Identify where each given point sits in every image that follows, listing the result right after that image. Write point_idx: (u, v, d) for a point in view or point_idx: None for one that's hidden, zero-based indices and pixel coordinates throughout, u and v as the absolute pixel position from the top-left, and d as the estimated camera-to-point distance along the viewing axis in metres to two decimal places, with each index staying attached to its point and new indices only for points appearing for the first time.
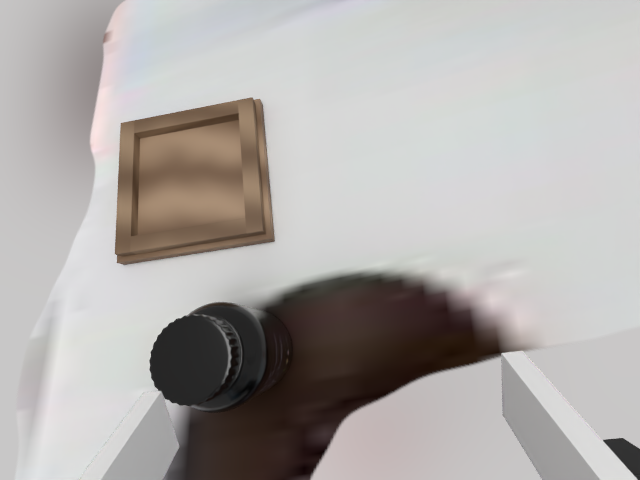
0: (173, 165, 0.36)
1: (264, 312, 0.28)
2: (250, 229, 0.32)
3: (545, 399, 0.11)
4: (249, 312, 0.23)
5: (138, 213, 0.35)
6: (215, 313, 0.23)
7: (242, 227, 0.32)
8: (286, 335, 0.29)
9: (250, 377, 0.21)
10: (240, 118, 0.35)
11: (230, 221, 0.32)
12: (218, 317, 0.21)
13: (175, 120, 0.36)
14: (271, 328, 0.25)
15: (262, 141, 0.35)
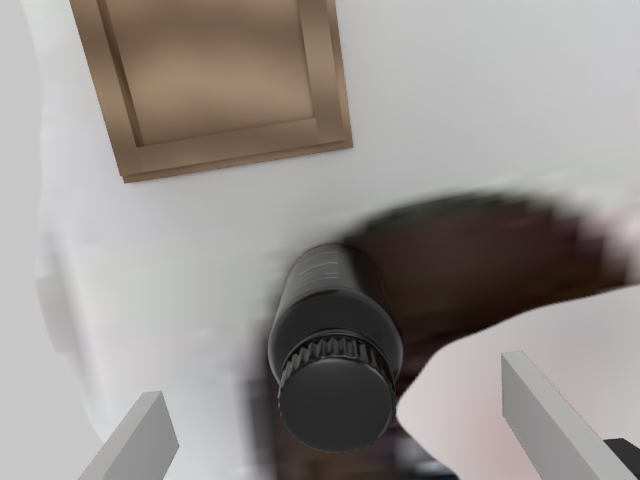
0: (170, 11, 0.21)
1: (360, 261, 0.22)
2: (325, 137, 0.21)
3: (545, 399, 0.11)
4: (376, 303, 0.17)
5: (134, 103, 0.22)
6: (337, 316, 0.16)
7: (312, 134, 0.21)
8: (382, 280, 0.23)
9: None
10: None
11: (292, 124, 0.21)
12: (356, 337, 0.15)
13: None
14: (389, 301, 0.19)
15: None
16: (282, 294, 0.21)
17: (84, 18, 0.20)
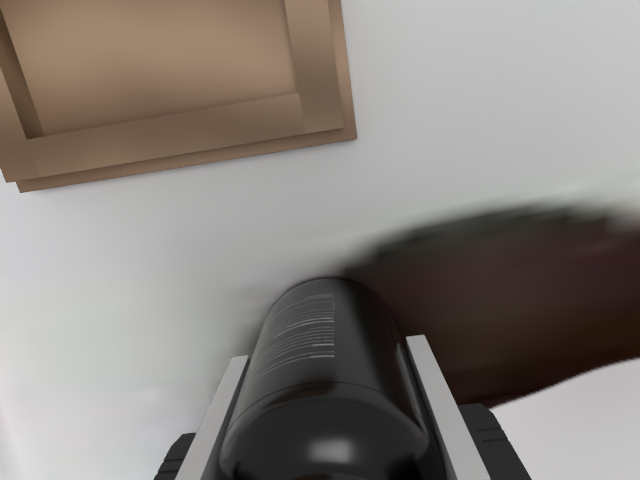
0: None
1: (367, 312, 0.14)
2: (314, 124, 0.14)
3: (425, 372, 0.13)
4: (402, 412, 0.10)
5: (24, 71, 0.14)
6: (332, 448, 0.09)
7: (294, 118, 0.14)
8: (399, 334, 0.16)
9: None
10: None
11: (263, 102, 0.13)
12: None
13: None
14: (416, 386, 0.12)
15: None
16: (249, 364, 0.14)
17: None
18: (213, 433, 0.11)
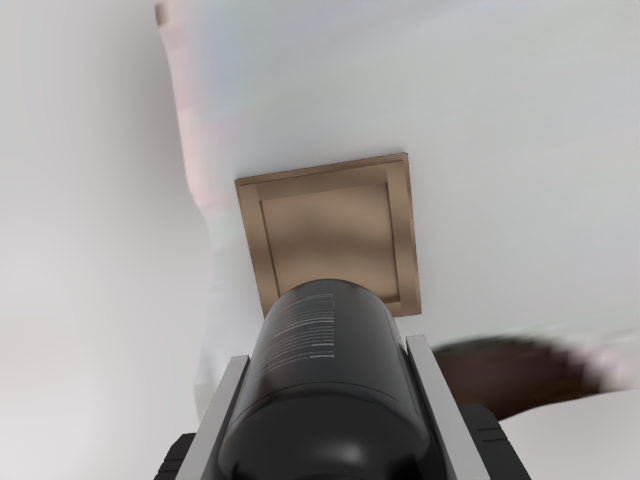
0: (308, 235, 0.32)
1: (367, 312, 0.14)
2: (405, 313, 0.33)
3: (425, 372, 0.13)
4: (402, 412, 0.10)
5: (279, 286, 0.34)
6: (332, 449, 0.09)
7: (397, 311, 0.33)
8: (399, 334, 0.16)
9: None
10: (390, 189, 0.30)
11: None
12: None
13: (309, 187, 0.30)
14: (416, 386, 0.12)
15: (411, 211, 0.31)
16: (249, 364, 0.14)
17: (257, 244, 0.32)
18: (213, 433, 0.11)
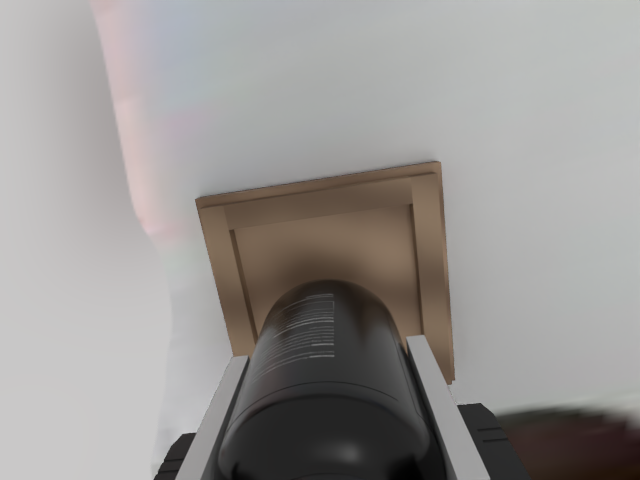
0: (300, 275, 0.23)
1: (367, 312, 0.14)
2: None
3: (425, 372, 0.13)
4: (402, 412, 0.10)
5: None
6: (332, 449, 0.09)
7: None
8: (399, 334, 0.16)
9: None
10: (416, 214, 0.21)
11: None
12: None
13: (299, 210, 0.21)
14: (416, 386, 0.12)
15: (444, 243, 0.22)
16: (249, 364, 0.14)
17: (227, 289, 0.23)
18: (213, 433, 0.11)
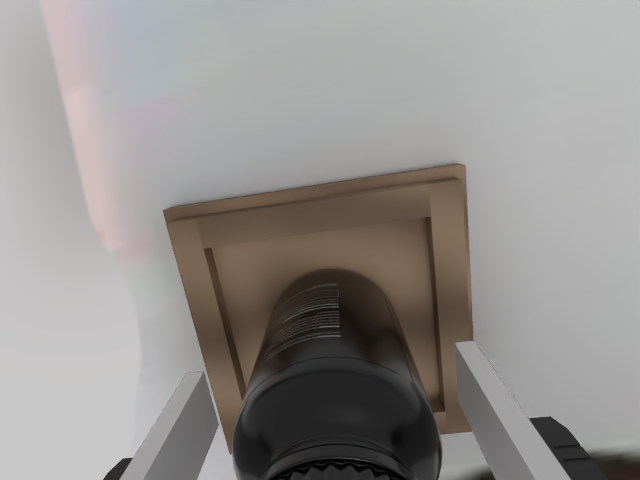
0: None
1: (369, 299, 0.15)
2: (454, 428, 0.20)
3: (485, 382, 0.12)
4: (401, 384, 0.11)
5: (245, 380, 0.21)
6: (339, 413, 0.10)
7: (440, 425, 0.20)
8: None
9: None
10: (435, 229, 0.17)
11: None
12: (372, 464, 0.09)
13: (290, 224, 0.17)
14: (414, 365, 0.13)
15: (467, 263, 0.18)
16: (260, 347, 0.15)
17: (203, 320, 0.19)
18: (149, 460, 0.11)
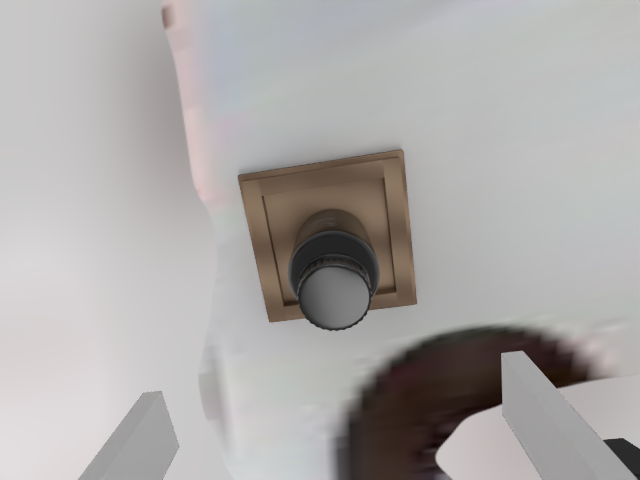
0: None
1: (351, 219, 0.30)
2: (401, 303, 0.34)
3: (545, 399, 0.11)
4: (361, 240, 0.25)
5: (280, 277, 0.35)
6: (334, 246, 0.24)
7: (394, 301, 0.34)
8: None
9: None
10: (387, 184, 0.31)
11: (382, 295, 0.34)
12: (347, 257, 0.23)
13: (309, 182, 0.31)
14: (370, 243, 0.28)
15: (407, 205, 0.33)
16: (295, 242, 0.30)
17: (259, 237, 0.33)
18: None
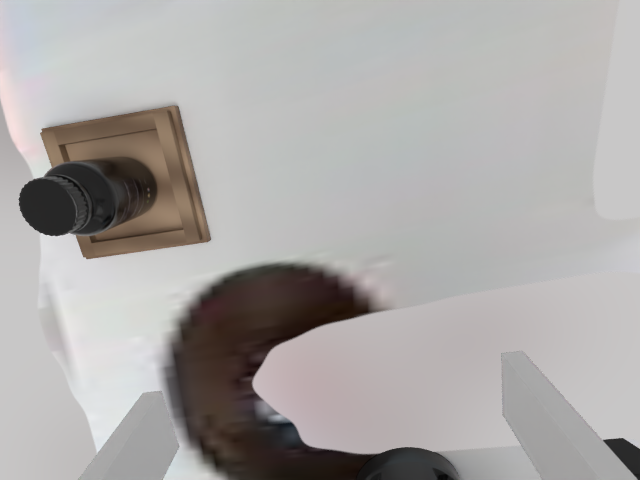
0: None
1: (121, 161, 0.36)
2: (189, 239, 0.40)
3: (545, 399, 0.11)
4: (94, 168, 0.31)
5: None
6: (65, 172, 0.30)
7: (182, 237, 0.40)
8: (145, 177, 0.38)
9: (103, 214, 0.31)
10: (159, 134, 0.37)
11: (172, 232, 0.40)
12: (64, 177, 0.29)
13: (95, 132, 0.38)
14: (121, 176, 0.34)
15: (185, 154, 0.39)
16: None
17: None
18: None
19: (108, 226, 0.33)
